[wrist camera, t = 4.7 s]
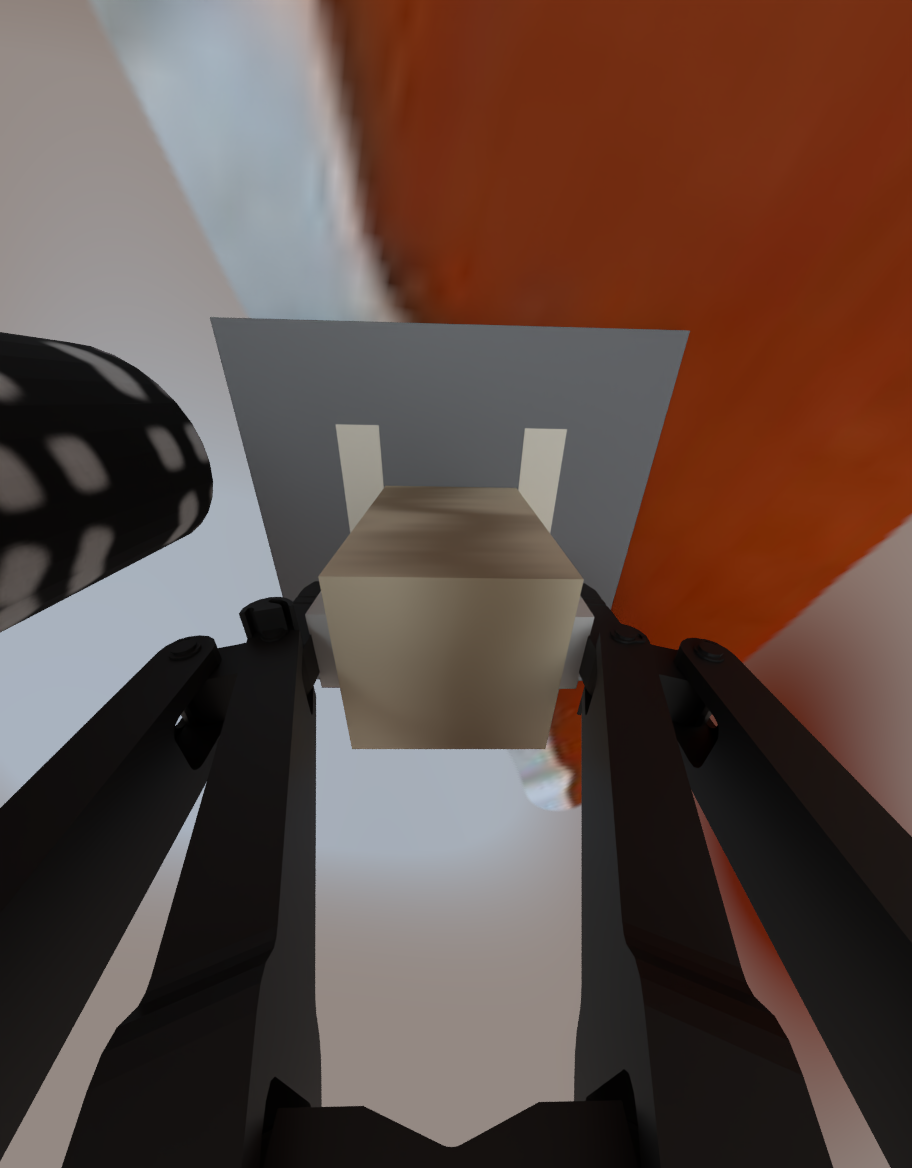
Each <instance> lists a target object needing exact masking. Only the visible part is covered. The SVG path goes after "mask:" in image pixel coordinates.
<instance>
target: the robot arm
mask: <svg viewBox="0 0 912 1168" xmlns="http://www.w3.org/2000/svg"><path fill="white" fill-rule="evenodd" d="M239 615H240V618H241V621H242V624H243V627H244V630H245V633H246V636H247V638H248V639H247V643H243V644H239V645H234V646H228V647H223V648H217V646H216V643H215V641H214V639H213V638H211V637H209V636H192V637H186V638H184V639H179V640H177V641H175V642H173V643H171V644H169V645H167V646H166V647H164V648H163V649H162V650H160V651H159V652H158V653H157V654H156V655H155V656H154V657H153V658H152V659H151V660H150V661H149V662H148V663H147V664H146V665H145V666H144V667H143V668H142V669H141V670H140V671H139V672H138V673H137V674H136V675H135V676H133V678H131V680H129V682H127V683H126V685H124V686H123V688H121V689H120V690H119V691H118V692H117V693H116V694H115V695H114V696H113V697H112V698H111V699H110V700H109V701H108V702H107V703H106V704H105V705H104V706H103V707H102V708H101V709H100V710H99V711H98V712H97V713H96V714H95V715H94V716H93V717H92V718H91V719H90V720H89V721H88V722H87V723H86V724H85V725H84V726H83V727H82V728H81V729H80V730H79V731H78V732H77V733H76V734H75V735H74V736H73V737H72V738H71V739H70V740H69V741H68V742H67V743H66V744H65V745H64V746H63V747H62V748H61V749H60V750H59V751H58V752H57V753H56V754H55V755H54V756H53V757H52V758H51V759H50V760H49V761H48V762H47V763H45V764H44V765H43V766H42V767H41V768H40V769H39V770H38V771H37V772H36V773H35V774H34V775H33V776H32V777H31V778H30V779H29V780H28V781H27V782H26V783H25V784H24V785H23V786H22V787H21V788H20V789H19V790H18V791H17V792H16V793H15V794H14V795H13V796H12V797H11V798H10V799H9V800H8V801H7V802H6V803H5V804H4V805H3V806H2V807H1V808H0V1160H1V1159H2V1157H3V1155H4V1153H5V1151H6V1149H7V1148H8V1146H9V1144H10V1142H11V1140H12V1138H13V1137H14V1135H15V1133H16V1131H17V1129H18V1127H19V1126H20V1124H21V1122H22V1120H23V1118H24V1116H25V1115H26V1113H27V1111H28V1109H29V1107H30V1105H31V1104H32V1102H33V1100H34V1098H35V1096H36V1094H37V1092H38V1091H39V1089H40V1087H41V1085H42V1083H43V1081H44V1080H45V1078H46V1076H47V1074H48V1072H49V1070H50V1069H51V1067H52V1065H53V1063H54V1061H55V1059H56V1058H57V1056H58V1054H59V1052H60V1050H61V1048H62V1047H63V1045H64V1043H65V1041H66V1039H67V1037H68V1036H69V1034H70V1032H71V1030H72V1028H73V1026H74V1025H75V1022H76V1021H77V1019H78V1017H79V1015H80V1013H81V1012H82V1010H83V1008H84V1006H85V1004H86V1002H87V1001H88V999H89V997H90V995H91V993H92V991H93V990H94V988H95V986H96V984H97V982H98V980H99V979H100V977H101V975H102V973H103V971H104V969H105V968H106V966H107V964H108V962H109V960H110V958H111V956H112V955H113V953H114V951H115V949H116V947H117V946H118V944H119V942H120V940H121V938H122V936H123V934H124V933H125V931H126V929H127V927H128V925H129V923H130V922H131V920H132V918H133V916H134V914H135V912H136V911H137V909H138V907H139V905H140V903H141V901H142V900H143V898H144V896H145V894H146V892H147V890H148V888H149V887H150V885H151V883H152V881H153V879H154V878H155V876H156V874H157V872H158V870H159V868H160V866H161V864H162V863H163V861H164V859H165V857H166V855H167V853H168V852H169V850H170V848H171V846H172V844H173V843H174V841H175V839H176V837H177V835H178V833H179V832H180V830H181V828H182V826H183V824H184V822H185V821H186V819H187V817H188V815H189V813H190V811H191V809H192V808H193V806H194V804H195V802H196V800H197V798H198V797H199V795H200V793H201V791H202V789H203V787H204V786H205V784H206V787H205V790H204V794H203V797H202V801H201V804H200V808H199V811H198V815H197V818H196V822H195V825H194V829H193V832H192V836H191V839H190V843H189V846H188V850H187V853H186V857H185V860H184V864H183V868H182V871H181V874H180V878H179V882H178V885H177V888H176V892H175V895H174V899H173V902H172V906H171V910H170V913H169V916H168V920H167V924H166V927H165V930H164V934H163V938H162V941H161V944H160V948H159V952H158V955H157V958H156V962H155V965H154V969H153V972H152V976H151V979H150V982H149V985H148V987H147V990H146V993H145V995H144V997H143V998H142V1001H141V1002H140V1004H139V1006H138V1007H137V1008H136V1009H135V1010H134V1011H133V1012H132V1013H131V1014H130V1015H129V1016H128V1017H127V1018H126V1019H125V1020H124V1021H123V1022H122V1023H121V1024H120V1025H119V1026H118V1027H117V1028H116V1030H115V1032H114V1034H113V1035H112V1037H111V1039H110V1040H109V1042H108V1044H107V1046H106V1047H105V1049H104V1051H103V1053H102V1054H101V1057H100V1059H99V1062H98V1064H97V1067H96V1070H95V1072H94V1075H93V1077H92V1080H91V1082H90V1085H89V1087H88V1090H87V1092H86V1096H85V1098H84V1101H83V1104H82V1108H81V1111H80V1114H79V1117H78V1120H77V1123H76V1126H75V1129H74V1132H73V1135H72V1138H71V1141H70V1144H69V1147H68V1150H67V1153H66V1156H65V1159H64V1162H63V1165H62V1168H833V1166H832V1163H831V1160H830V1156H829V1153H828V1150H827V1147H826V1145H825V1141H824V1138H823V1135H822V1132H821V1129H820V1126H819V1123H818V1120H817V1117H816V1114H815V1111H814V1108H813V1105H812V1102H811V1099H810V1095H809V1092H808V1090H807V1086H806V1083H805V1080H804V1077H803V1075H802V1072H801V1070H800V1067H799V1064H798V1062H797V1060H796V1057H795V1054H794V1052H793V1049H792V1047H791V1044H790V1042H789V1040H788V1038H787V1036H786V1035H785V1033H784V1032H783V1030H782V1028H781V1026H780V1025H779V1023H778V1021H777V1019H776V1018H775V1016H774V1015H773V1014H772V1013H771V1012H770V1011H769V1010H768V1009H767V1008H766V1007H765V1006H764V1005H763V1004H761V1003H760V1002H759V1001H758V1000H757V999H756V998H755V997H754V995H753V994H752V992H751V990H750V988H749V987H748V985H747V982H746V980H745V977H744V974H743V971H742V968H741V965H740V961H739V958H738V954H737V951H736V947H735V944H734V940H733V937H732V933H731V929H730V926H729V922H728V919H727V915H726V912H725V908H724V904H723V901H722V897H721V894H720V891H719V887H718V883H717V880H716V876H715V873H714V869H713V866H712V862H711V858H710V855H709V851H708V848H707V844H706V841H705V837H704V833H703V830H702V826H701V823H700V819H699V816H698V812H697V809H696V805H695V801H694V798H693V794H692V792H693V793H694V795H695V797H696V799H697V801H698V803H699V805H700V807H701V809H702V811H703V813H704V814H705V816H706V818H707V820H708V822H709V824H710V826H711V828H712V830H713V831H714V833H715V835H716V837H717V839H718V841H719V843H720V845H721V847H722V849H723V851H724V852H725V854H726V856H727V858H728V860H729V862H730V864H731V866H732V867H733V869H734V871H735V873H736V875H737V877H738V879H739V881H740V883H741V884H742V887H743V888H744V890H745V892H746V894H747V896H748V898H749V899H750V902H751V903H752V905H753V907H754V909H755V911H756V913H757V915H758V917H759V919H760V921H761V922H762V924H763V926H764V928H765V930H766V932H767V934H768V936H769V938H770V940H771V941H772V943H773V945H774V947H775V949H776V951H777V953H778V955H779V957H780V959H781V960H782V962H783V964H784V966H785V968H786V970H787V972H788V973H789V976H790V978H791V979H792V981H793V983H794V985H795V987H796V989H797V991H798V993H799V995H800V997H801V998H802V1000H803V1002H804V1004H805V1006H806V1008H807V1010H808V1012H809V1014H810V1015H811V1017H812V1019H813V1021H814V1023H815V1025H816V1027H817V1029H818V1031H819V1033H820V1034H821V1036H822V1038H823V1040H824V1042H825V1044H826V1046H827V1048H828V1049H829V1052H830V1053H831V1055H832V1057H833V1059H834V1061H835V1063H836V1065H837V1067H838V1069H839V1070H840V1072H841V1074H842V1076H843V1078H844V1080H845V1082H846V1084H847V1085H848V1088H849V1089H850V1091H851V1093H852V1095H853V1097H854V1099H855V1101H856V1103H857V1105H858V1106H859V1108H860V1110H861V1112H862V1114H863V1116H864V1118H865V1120H866V1121H867V1123H868V1125H869V1127H870V1129H871V1131H872V1133H873V1135H874V1137H875V1139H876V1141H877V1142H878V1144H879V1146H880V1148H881V1150H882V1152H883V1154H884V1156H885V1158H886V1159H887V1161H888V1163H889V1165H890V1167H891V1168H912V837H911V836H910V835H909V834H908V833H907V832H906V831H905V830H904V829H903V828H902V827H901V826H900V825H899V823H897V821H896V820H895V819H894V818H893V817H892V816H891V815H890V814H889V813H888V812H887V811H886V810H885V809H884V808H883V807H882V806H881V805H880V804H879V803H878V802H877V801H876V800H875V799H874V798H873V797H872V796H871V795H870V794H869V793H868V792H867V791H866V790H865V789H864V788H863V787H862V786H861V785H860V783H859V782H857V780H855V779H854V777H853V776H852V775H851V774H850V773H849V772H848V771H847V770H846V769H845V768H844V767H843V766H842V765H841V764H840V763H839V762H838V761H837V760H836V759H835V758H834V757H833V756H832V755H831V754H830V753H829V752H828V751H827V750H826V748H825V747H824V746H822V744H821V743H820V742H819V741H818V740H817V739H816V738H815V737H814V736H813V735H812V734H811V733H810V732H809V731H808V730H807V729H806V728H805V727H804V726H803V725H802V724H801V723H800V722H799V721H798V720H797V719H796V718H795V717H794V716H793V715H792V714H791V713H790V712H789V711H788V710H787V708H786V707H785V706H784V705H782V703H780V701H779V700H778V699H777V698H776V697H775V696H774V695H773V694H772V693H771V692H770V691H769V690H768V689H767V688H766V687H765V686H764V685H763V684H762V683H761V682H760V681H759V680H758V679H757V678H756V677H755V676H754V675H753V674H752V673H751V671H750V670H749V669H748V668H747V667H746V666H745V665H744V664H743V663H742V662H741V661H740V660H739V659H738V658H737V657H736V656H735V655H734V654H733V653H731V652H730V651H729V650H728V649H726V648H724V647H723V646H721V645H719V644H717V643H715V642H713V641H710V640H706V639H699V638H687V639H685V640H683V641H682V642H681V644H680V647H679V649H678V650H674V649H669V648H664V647H659V646H655V645H651V644H650V642H649V640H648V638H647V637H646V635H644V634H643V633H642V632H641V631H639V630H637V629H635V628H633V627H631V626H627V625H624V624H621V623H620V622H619V621H618V619H617V618H616V617H615V615H614V614H613V613H612V611H611V610H610V609H609V607H608V606H606V603H605V602H604V601H603V599H601V597H600V596H599V594H598V593H597V592H596V590H594V589H593V588H591V587H590V586H588V585H587V584H585V583H583V585H582V590H581V594H580V598H579V603H578V607H577V612H576V616H575V620H574V625H573V629H572V634H571V638H570V642H569V647H568V651H567V656H566V660H565V664H564V669H563V673H562V678H561V682H560V686H559V689H576V686H577V683H578V679H579V675H580V676H581V679H582V681H583V683H584V685H585V687H584V691H583V694H582V698H581V701H580V705H579V709H578V712H577V714H578V715H581V713H582V989H581V1007H580V1015H579V1021H578V1027H577V1036H576V1049H575V1076H574V1079H575V1081H574V1101H573V1102H571V1101H570V1102H538V1103H537V1104H535V1105H533V1106H531V1107H529V1108H527V1109H526V1110H524V1111H522V1112H520V1113H518V1114H516V1115H515V1116H513V1117H511V1118H509V1119H508V1120H506V1121H504V1122H502V1123H500V1124H498V1125H496V1126H494V1127H493V1128H491V1129H489V1130H487V1131H485V1132H484V1133H482V1134H480V1135H478V1136H476V1137H475V1138H473V1139H471V1140H469V1141H467V1142H465V1143H463V1144H462V1145H459V1146H457V1147H446V1146H443V1145H441V1144H439V1143H437V1142H435V1141H433V1140H431V1139H429V1138H427V1137H425V1136H423V1135H421V1134H419V1133H417V1132H414V1131H413V1130H411V1129H409V1128H407V1127H404V1126H403V1125H401V1124H399V1123H397V1122H395V1121H392V1120H390V1119H388V1118H386V1117H384V1116H382V1115H380V1114H378V1113H376V1112H374V1111H372V1110H370V1109H368V1108H366V1107H364V1106H347V1107H321V1054H320V1040H319V1030H318V1023H317V1017H316V1005H315V858H316V856H315V853H316V851H315V850H316V849H315V846H316V836H315V835H316V694H315V691H314V686H313V685H314V683H315V681H316V679H317V677H318V675H319V677H320V681H321V686H322V687H323V688H324V687H325V688H326V687H328V688H331V687H332V688H340V685H339V679H338V674H337V669H336V664H335V659H334V654H333V649H332V644H331V639H330V634H329V629H328V624H327V618H326V613H325V608H324V603H323V598H322V593H321V588H320V583H319V581H314V582H313V583H311V584H309V585H308V586H306V587H304V588H303V589H302V591H301V592H300V593H299V595H298V597H296V598H295V600H294V601H293V602H292V601H291V600H289V599H288V598H283V597H269V598H265V599H261V600H258V601H255V602H253V603H250V604H249V605H247V606H246V607H244V608H243V609H242V610H241V612H240V613H239ZM711 714H712V715H713V716H714V717H715V719H716V721H717V724H718V726H717V727H716V726H715V725H714V723H713V722H712V721H711V719H710V716H711ZM180 715H181V716H182V719H181V720H180V722H179V723H178V724H177V725H176V726H175V724H176V722H177V720H178V718H179V716H180ZM206 782H207V783H206ZM691 790H692V791H691Z"/></svg>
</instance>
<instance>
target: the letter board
mask: <svg viewBox="0 0 912 1168" xmlns="http://www.w3.org/2000/svg"><path fill="white" fill-rule="evenodd" d="M210 320H211V324H212V327H213V331H214V335H215V339H216V343H217V347H218V351H219V354H220V358H221V362H222V366H223V370H224V374H225V377H226V381H227V385H228V389H229V393H230V396H231V400H232V404H233V408H234V412H235V416H236V420H237V423H238V427H239V431H240V435H241V438H242V442H243V446H244V450H245V454H246V458H247V461H248V465H249V469H250V473H251V477H252V481H253V484H254V488H255V492H256V496H257V500H258V503H259V507H260V511H261V515H262V519H263V523H264V526H265V530H266V534H267V538H268V541H269V546H270V549H271V553H272V557H273V561H274V565H275V569H276V571H277V576H278V580H279V584H280V588H281V591H282V595H283V598H288V599H289V600H291V601H292V602H293V601H294V600H295V598H296V597H298V595H299V593H300V592H301V591H302V589H303V588H304V587H306V586H308V585H309V584H311V583H313V582H314V581H319V578H318V576H319V575H320V573H321V572H322V571H323V569H324V568H325V567H326V565H327V564H328V563H329V561H330V560H331V559H332V557H333V556H334V555H335V553H336V552H337V550H338V549H339V548H340V546H341V545H342V544H343V542H344V541H345V540H346V538H347V537H348V536H349V534H350V533H351V532H352V530H353V529H354V528H355V526H356V525H357V524H358V522H359V521H360V520H361V518H362V517H363V515H364V514H365V513H366V511H367V510H368V509H369V507H370V506H371V505H372V503H373V502H374V501H375V499H376V498H377V497H378V495H379V494H380V493H381V491H382V490H383V489H384V487H385V486H436V487H493V488H517V489H518V491H519V492H520V493H521V495H522V496H523V497H524V499H525V500H526V501H527V503H528V504H529V506H530V507H531V508H532V510H533V511H534V512H535V514H536V515H537V516H538V518H539V519H540V521H541V522H542V523H543V525H544V526H545V527H546V529H547V530H548V531H549V533H550V534H551V535H552V537H553V538H554V540H555V541H556V542H557V544H558V545H559V546H560V548H561V549H562V550H563V552H564V553H565V555H566V556H567V557H568V559H569V560H570V561H571V563H572V564H573V565H574V567H575V568H576V569H577V571H578V572H579V574H580V575H581V576H582V578H583V579H584V581H583V583H585V584H587V585H588V586H590V587H591V588H593V589H594V590H596V592H597V593H598V594H599V596H600V597H601V599H603V601H604V602H605V603H606V606H608V607H609V609H610V610H611V606H612V603H613V599H614V596H615V592H616V589H617V585H618V582H619V578H620V575H621V571H622V568H623V564H624V561H625V557H626V554H627V550H628V547H629V543H630V540H631V536H632V533H633V529H634V526H635V522H636V518H637V515H638V511H639V508H640V504H641V501H642V497H643V494H644V490H645V487H646V483H647V480H648V476H649V473H650V469H651V466H652V462H653V459H654V455H655V452H656V448H657V445H658V441H659V438H660V434H661V430H662V427H663V423H664V420H665V416H666V413H667V409H668V406H669V402H670V399H671V395H672V392H673V388H674V385H675V381H676V378H677V374H678V371H679V367H680V364H681V360H682V357H683V353H684V350H685V346H686V342H687V339H688V335H689V332H690V331H683V330H647V329H611V328H575V327H539V326H503V325H467V324H431V323H395V322H359V321H323V320H288V319H252V318H216V317H210ZM317 679H320V677H319V675H318V677H317ZM578 681H582V679H581V676H580V675H579V679H578Z"/></svg>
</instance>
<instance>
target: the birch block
mask: <svg viewBox="0 0 912 1168" xmlns="http://www.w3.org/2000/svg"><path fill="white" fill-rule="evenodd" d="M318 578H319V583H320V588H321V593H322V598H323V603H324V608H325V613H326V618H327V624H328V629H329V634H330V639H331V644H332V649H333V654H334V659H335V664H336V669H337V674H338V679H339V685H340V690H341V695H342V700H343V705H344V710H345V715H346V720H347V725H348V730H349V735H350V740H351V746H352V749H545V748H546V743H547V739H548V735H549V730H550V726H551V722H552V717H553V713H554V708H555V704H556V700H557V695H558V691H559V686H560V682H561V678H562V673H563V669H564V664H565V660H566V656H567V651H568V647H569V642H570V638H571V634H572V629H573V625H574V620H575V616H576V612H577V607H578V603H579V598H580V594H581V590H582V585H583V581H584V579H583V578H582V576H581V575H580V574H579V572H578V571H577V569H576V568H575V567H574V565H573V564H572V563H571V561H570V560H569V559H568V557H567V556H566V555H565V553H564V552H563V550H562V549H561V548H560V546H559V545H558V544H557V542H556V541H555V540H554V538H553V537H552V535H551V534H550V533H549V531H548V530H547V529H546V527H545V526H544V525H543V523H542V522H541V521H540V519H539V518H538V516H537V515H536V514H535V512H534V511H533V510H532V508H531V507H530V506H529V504H528V503H527V501H526V500H525V499H524V497H523V496H522V495H521V493H520V492H519V491H518V489H517V488H493V487H436V486H385V487H384V489H383V490H382V491H381V493H380V494H379V495H378V497H377V498H376V499H375V501H374V502H373V503H372V505H371V506H370V507H369V509H368V510H367V511H366V513H365V514H364V515H363V517H362V518H361V520H360V521H359V522H358V524H357V525H356V526H355V528H354V529H353V530H352V532H351V533H350V534H349V536H348V537H347V538H346V540H345V541H344V542H343V544H342V545H341V546H340V548H339V549H338V550H337V552H336V553H335V555H334V556H333V557H332V559H331V560H330V561H329V563H328V564H327V565H326V567H325V568H324V569H323V571H322V572H321V573H320V575H319V576H318Z"/></svg>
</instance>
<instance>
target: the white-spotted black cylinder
mask: <svg viewBox="0 0 912 1168" xmlns="http://www.w3.org/2000/svg"><path fill="white" fill-rule="evenodd" d="M212 493H213V479H212V473H211V467H210V462H209V459H208V456H207V454H206V451H205V448H204V446H203V443H202V441H201V439H200V437H199V436H198V434H197V432H196V430H195V428H194V427H193V425H192V423H191V422H190V420H189V419H188V418H187V416H186V415H185V414H184V413H183V411H182V410H181V408H180V407H179V406H178V404H177V403H176V402H175V401H174V400H173V399H172V398H171V397H170V396H169V395H168V394H167V393H166V392H165V391H164V390H163V389H162V388H161V387H160V386H159V385H158V384H157V383H156V382H154V381H153V380H151V379H150V378H149V377H148V376H146V375H145V374H144V373H143V372H141V371H140V370H139V369H137V368H136V367H134V366H132V365H130V364H129V363H127V362H125V361H123V360H122V359H120V358H118V357H116V356H115V355H112V354H110V353H107V352H104V351H102V350H99V349H96V348H94V347H91V346H86V345H81V344H75V343H70V342H63V341H57V340H50V339H43V338H36V337H29V336H22V335H15V334H8V333H2V332H0V632H2V631H4V630H6V629H8V628H10V627H11V626H13V625H16V624H17V623H19V622H21V621H23V620H25V619H27V618H29V617H31V616H33V615H34V614H37V613H38V612H41V611H42V610H44V609H46V608H48V607H50V606H52V605H54V604H56V603H58V602H59V601H62V600H64V599H65V598H67V597H69V596H71V595H73V594H75V593H77V592H79V591H81V590H83V589H85V588H87V587H88V586H90V585H92V584H94V583H96V582H98V581H100V580H102V579H104V578H106V577H108V576H110V575H112V574H113V573H115V572H117V571H119V570H121V569H123V568H125V567H127V566H129V565H131V564H133V563H135V562H137V561H139V560H141V559H142V558H144V557H146V556H148V555H150V554H152V553H154V552H156V551H158V550H160V549H162V548H163V547H166V546H167V545H169V544H171V543H173V542H175V541H177V540H179V539H181V538H183V537H185V536H186V535H189V534H190V533H192V532H193V531H194V530H195V529H196V528H197V527H198V526H199V525H200V524H201V523H202V522H203V520H204V518H205V516H206V515H207V513H208V511H209V508H210V504H211V500H212Z"/></svg>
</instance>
